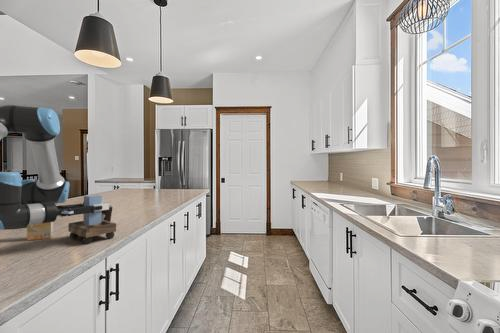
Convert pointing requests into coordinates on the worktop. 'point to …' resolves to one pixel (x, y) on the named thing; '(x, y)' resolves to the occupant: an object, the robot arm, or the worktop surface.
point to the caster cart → (91, 230)
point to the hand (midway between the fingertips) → (105, 205)
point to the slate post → (96, 216)
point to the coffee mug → (107, 214)
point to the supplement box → (40, 231)
